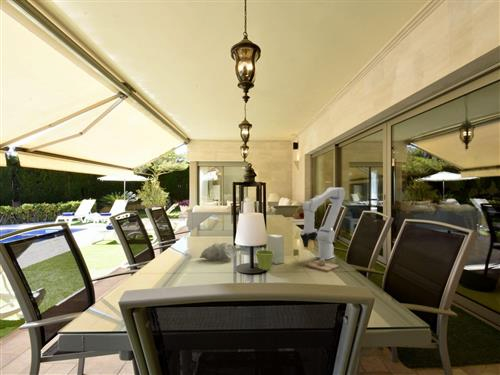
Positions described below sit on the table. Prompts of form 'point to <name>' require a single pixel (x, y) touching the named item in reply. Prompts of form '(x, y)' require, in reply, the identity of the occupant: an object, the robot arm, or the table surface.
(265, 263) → the plant pot
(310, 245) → the cap
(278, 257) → the skincare box
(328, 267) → the post board
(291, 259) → the table surface
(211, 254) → the seashell
